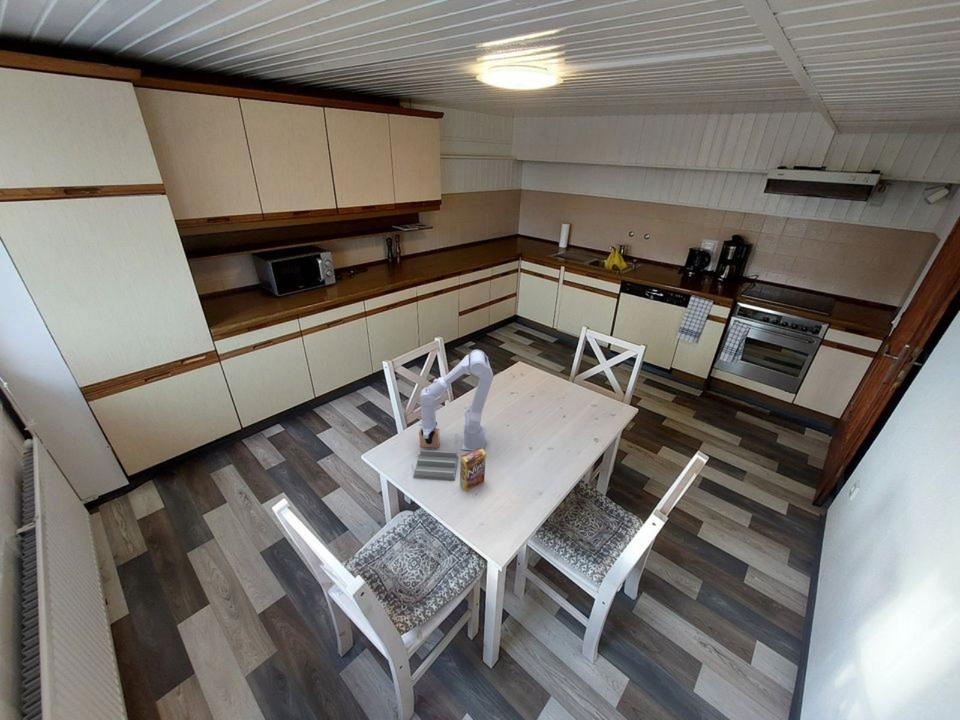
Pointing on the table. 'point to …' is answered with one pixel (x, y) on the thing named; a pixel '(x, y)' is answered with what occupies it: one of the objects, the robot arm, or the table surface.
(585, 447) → the table surface
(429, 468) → the rack
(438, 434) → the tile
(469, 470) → the candy box
